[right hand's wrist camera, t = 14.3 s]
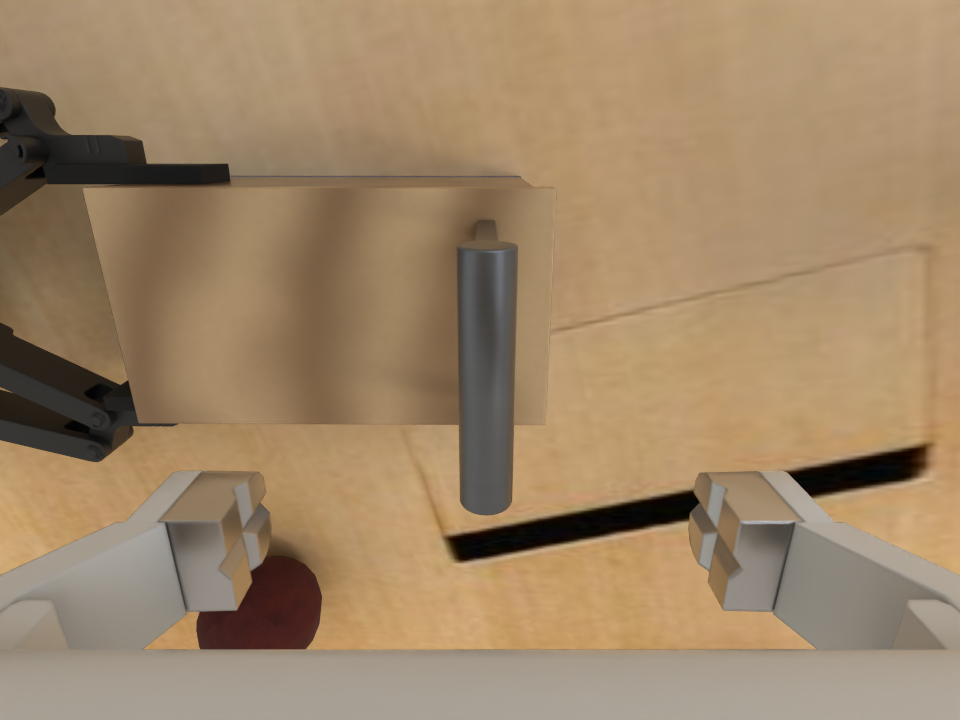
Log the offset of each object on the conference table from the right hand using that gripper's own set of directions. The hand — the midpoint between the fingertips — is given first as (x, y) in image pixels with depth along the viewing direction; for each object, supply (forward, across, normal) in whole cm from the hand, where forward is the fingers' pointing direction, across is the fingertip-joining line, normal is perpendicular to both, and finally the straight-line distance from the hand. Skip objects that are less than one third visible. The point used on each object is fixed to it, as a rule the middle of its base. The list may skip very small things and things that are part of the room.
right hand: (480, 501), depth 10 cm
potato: (+23, +14, +22) cm, 35 cm away
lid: (+14, +6, 0) cm, 15 cm away
